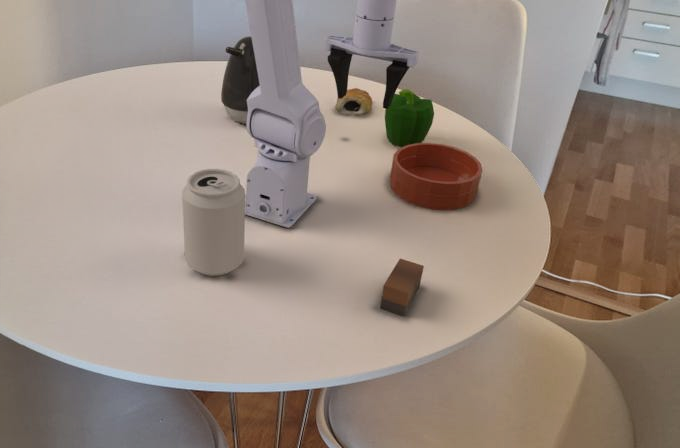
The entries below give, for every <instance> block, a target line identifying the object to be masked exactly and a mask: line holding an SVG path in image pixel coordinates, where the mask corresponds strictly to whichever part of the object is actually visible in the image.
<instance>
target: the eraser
mask: <svg viewBox="0 0 680 448" xmlns="http://www.w3.org/2000/svg"><path fill="white" fill-rule="evenodd" d="M424 267H425V266H424V265H422V264H420V263H416V262H413V261H410V260H406V259H404V258H399V259H398V261H397V263H396V264H395V265H394V267H393V269H392V271H391V272H390V274H389V276H388V277H387V279H386V280H385V282H384V283H383V286H382V293H381V299H380V306H379V309H381V310H384V311H387V312H389V313H392V314H395V315H399V316H400V317H401V316H402V317H405V316H406V314H407V312H408V310H409V308H410V307H411V305H412V303H413V301H414V300H415V297H416V295H417V293H418V292H419V290H420V286H421V281H422V277H423V272H424Z"/></svg>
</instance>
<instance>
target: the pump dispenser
mask: <svg viewBox="0 0 680 448" xmlns="http://www.w3.org/2000/svg"><path fill="white" fill-rule="evenodd" d="M225 53H226V54H229V57H228V60H227V62H226V63H227V64H226V65H225V70H224V74H223V79H222V85H221V94H220V98H221V99H220V100H221V103H222V104H223V107H224V110H225V112H226V114H227V115H228V116H229V118H231V119H232V120H233V121H235V122H238V123H240V124H244V125H247V115H248V105H247V99H248V97H249V96H250V94H251V93H252V92H253V91H254V90H255V89H256V88H257V87H259V86H260V83H259V78H258V72H257V66H256V60H255V55H254V49H253V43H252V37H251V35H249V36H245V37H242V38H240V39H239V40H238V41H237V42H236V44H235V45H234V46H233V47H232V46H226V48H225Z"/></svg>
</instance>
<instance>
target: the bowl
mask: <svg viewBox="0 0 680 448" xmlns="http://www.w3.org/2000/svg"><path fill="white" fill-rule="evenodd" d="M391 164H392V165H391V169H390V176H389V186H390V190H391V191H392V192H393V193H394V195H396V196H397V197H399V198H400V199H402V200H403V201H404V202H407V203H409V204H411V205H414V206H416V207H420V208H424V209H428V210H434V211H435V210H436V211H451V210H453V211H454V210H458V209H462V208H465V207H467V206H469V205H471V204H472V203H473V202H474V201H475V200H476V197H477V194H478V190H479V187H480V182H481V178H482V174H483V166H482V163H481V162H480V160H479V159H478V158H477V157H475V156H474V155H473V154H471V153H469V152H467V151H466V150H463V149H461V148H458V147H455V146H452V145H448V144H443V143H437V142H436V143H435V142H421V143H415V144H410V145H406V146H404V147H399V148H398V149H397V150H396V151H395V153H393V156H392V163H391Z"/></svg>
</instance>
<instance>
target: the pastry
mask: <svg viewBox="0 0 680 448" xmlns="http://www.w3.org/2000/svg"><path fill="white" fill-rule="evenodd" d="M372 109H373V98H372V96H371V95H370V94H369V92H368V91H367V90H364V89H360V88H358V87H354V88H351V89H350V88H349V89H347V93H346V95H345V96H344V97H343V98H342V99H340V98H338V97H337V99H336V104H335V110H336V112H337V113H338V114H339V115H345V116H359V117H361V116H366V115H368V114H370V113H371V112H372V111H371V110H372Z"/></svg>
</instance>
